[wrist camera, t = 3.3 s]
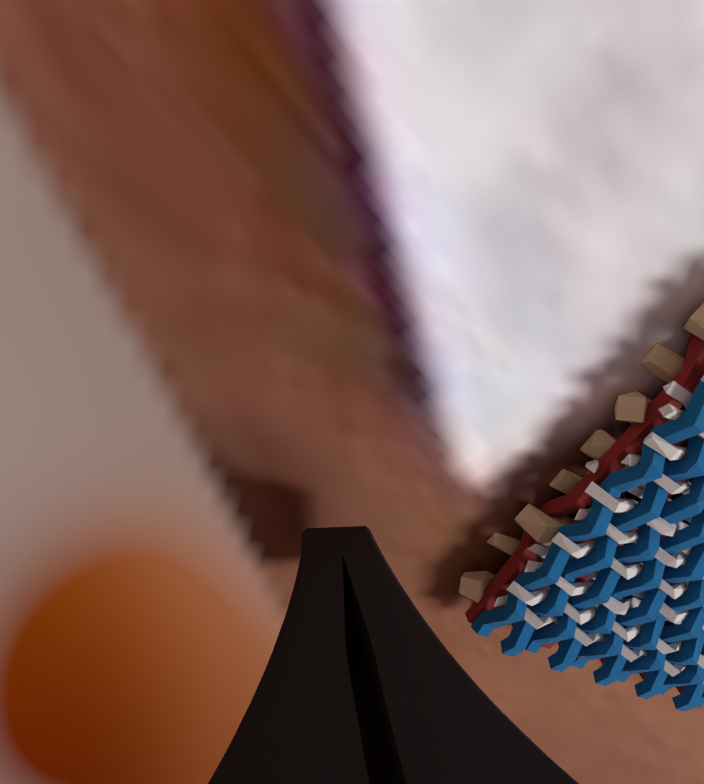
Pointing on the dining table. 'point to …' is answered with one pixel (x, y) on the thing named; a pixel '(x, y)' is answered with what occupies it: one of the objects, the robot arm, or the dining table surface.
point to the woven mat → (617, 546)
